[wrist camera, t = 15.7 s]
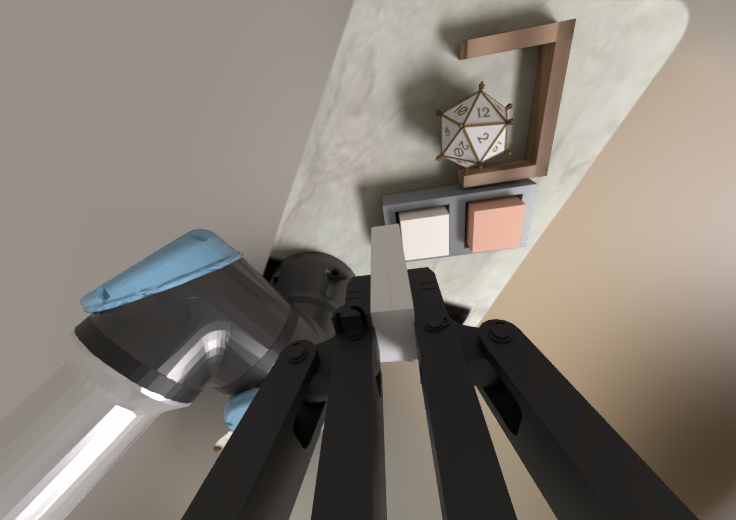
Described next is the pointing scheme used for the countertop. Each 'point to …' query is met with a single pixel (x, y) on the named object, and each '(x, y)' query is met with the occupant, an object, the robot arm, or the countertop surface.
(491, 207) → the terracotta key
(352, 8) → the countertop surface
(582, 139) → the countertop surface
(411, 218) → the ivory key
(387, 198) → the key panel
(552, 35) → the walnut bracket
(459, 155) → the game die
